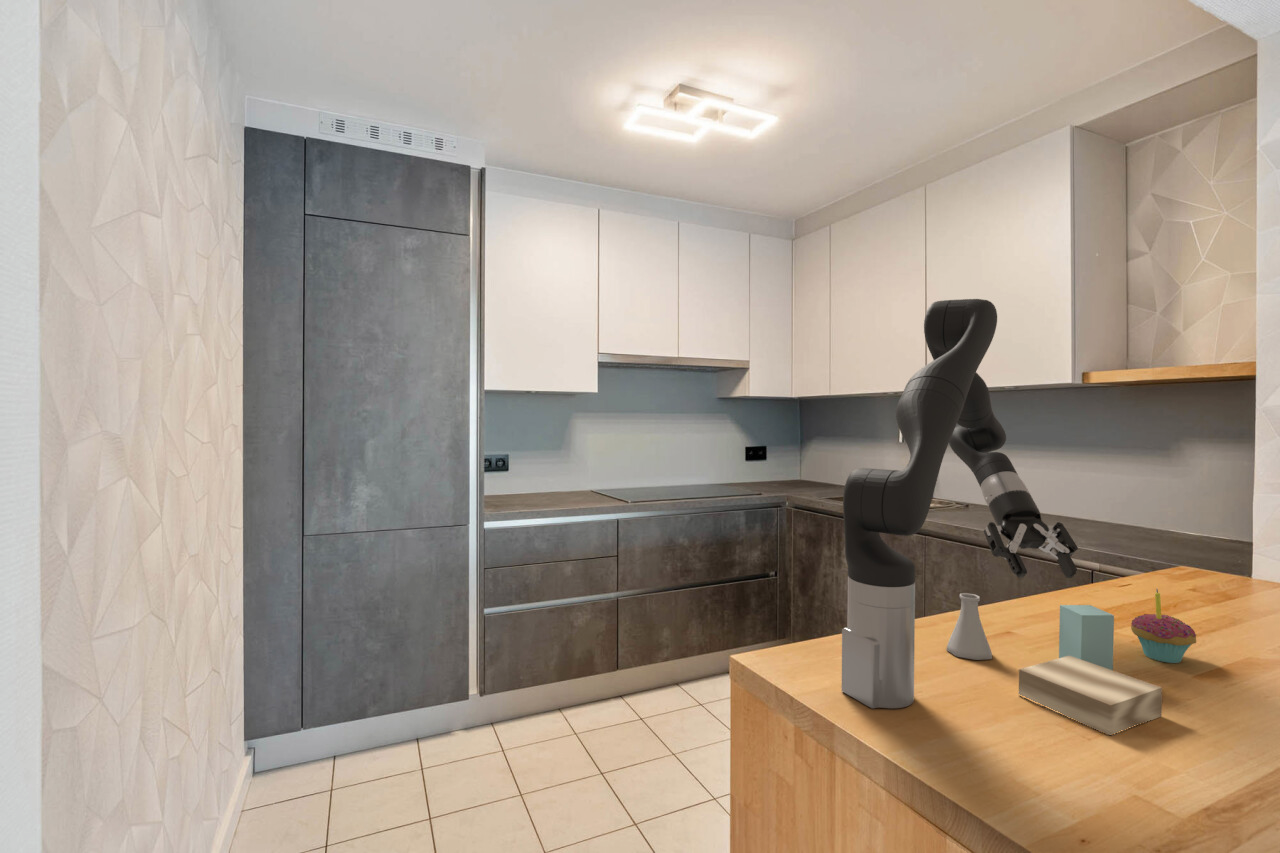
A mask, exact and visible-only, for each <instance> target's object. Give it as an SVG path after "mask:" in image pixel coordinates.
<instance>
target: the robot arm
mask: <svg viewBox="0 0 1280 853" xmlns="http://www.w3.org/2000/svg"><path fill="white" fill-rule="evenodd" d="M997 312H998V310H997V308H996V306H995V305H994V303H993V302H992V301H990V300H987V299H980V298H966V299H965V298H964V299H945V300H938V301H935V302H932V303H931V304H930V305H929V306H928V308H927V310H926V313H925V316H924V320H923V321H924V322H923V334H924V339H925V342H926V345H927V349H928V350H929V354H930V355H931V358H932V359H933V360H932V361H931V362H929V363H927V364H926V365H925V366H923V367H921V368H920V369H919V370H917V371H916V372H915V373H914V374H913V375H912V376H911V377H910V379H909V380H908V382H907V383H906V385H905V387H904V389H903V392H902V393H901V396H900V397H899V400H898V403H897V405H896V409H895V418H896V419H895V420H896V423H897V427H898V428H899V431H900V433H901V435H902V437H903V439H904V441H905V443H906V445H907V447H908V451H909V453H910V457H909V460H908V464H907V465H906V467H905V468H904V469H902V470H898V469H883V468H869V467H868V468H865V467H863V468H856V469H854V470H853V471H851V472H850V473H849V475H848V476H847V478H846V481H845V485H844V490H843V497H842V498H843V500H842V501H843V503H842V508H843V509H842V510H843V512H842V513H843V526H844V527H843V529H844V530H843V531H844V553H845V560H846V564H847V614H846V615H847V616H846V617H847V619H846V620H847V621H846V622H847V623H846V624H847V626H846V627H843V628H841V692H842V693H845V694H846V695H848V696H849V697H852V698H853V699H855V700H856V701H858V702H859V703H862V704H863V705H864V706H867V707H869V708H870V709H876V708H883V709H902V708H905V707H909V706H910V705H912V704H913V703H914V700H915V637H916V636H915V628H916V626H915V624H916V623H915V622H916V620H915V618H916V617H915V616H916V614H915V612H916V611H915V610H916V566H915V563H914V562H913V561H912V560H911V559H910V558H909V557H907V556H905V555H904V554H901V553H900V552H898V551H896V550H895V549H893V548H892V547H890V545H888V544H887V543H886V542H885V540H883V539H882V537H881V534H880V533H882V534H887V535H889V534H890V535H896V536H905V537H906V536H913V535H917V533H918V532H919V531H920V530H921V529H922V528H923V526H924V524H925V522H926V519H927V517H928V513H929V511H930V508H931V504H932V500H933V497H934V493H935V492H934V491H935V488H936V485H937V481H938V477H939V474H940V470H941V466H942V463H943V459H944V456H945V454H946V452H947V448H948V446H950V448H951V450H952V451H953V453H954V454H955V455H956V456H957V457H958V458H959V459H960V461H962V462H963V463H964V464H965V465H966V466H967V467H968V468H969V469H970V470H971V472H972V474H973V475H974V477H975V480H976V481H977V483H978V485H979V487H980V490H981V492H982V496H983V498H984V501H985V503H986V506H987V507H988V509H989V511H990V514H991V516H992V517H993V520H994V521H995V522H993V521H989V523H987V526H985V528H984V530H983V533H984V535H985V539H986V541H987V544H988V547H989V549H990V552H991V555H992V556H993V557H995V558H999V557H1002V558H1004V560H1006V561H1007V563H1008V565H1009V567H1010V570H1011V572H1012V573H1013V574H1014V575H1015V576H1016V577H1017V578H1018V579H1019V578H1020V579H1021V578H1024V577H1025V576H1026V575H1027V574H1028V570H1027V567H1026V566H1025V564H1024V562H1023V559H1022V558H1021V555H1020V554H1019V553H1017V552H1018V549H1019V548H1020V549H1021V550H1022V549H1023V550H1025V549H1029V548H1030V549H1034V550H1035V549H1039V550H1040V551H1042V552H1043V553H1046V554H1050V555H1051V556H1052V557H1054V558H1056V562H1057V564H1058V565H1059V567H1060V569H1061V571H1062V573H1063V574H1064V577H1065V578H1066V579H1070V578H1071V579H1072V578H1073V577H1074V576H1075V575H1076V574H1077V570H1078V569H1077V565H1076V563H1074V561H1073V559H1072V556H1073V554H1075V552H1076V551H1078V549H1079V547H1078V545H1077V544H1076V542H1075V541H1074V539H1073V538H1072V536H1071V535H1070V533H1069V532H1068V530H1067V528H1066V527H1065V525H1064V524H1063V523H1062V522H1058V521H1057V522H1056V523H1055V524H1054V525H1049V524H1046V523H1045V522H1044V521H1043V520H1042V516H1041V511H1040V509H1039V507H1038V506H1037V503H1036V502H1035V501H1034V498H1033V497H1032V495H1031V493H1030V492H1029V489H1028V488H1027V485H1025V483H1024V481H1023V480H1022V478H1020V476H1019V474H1018V473H1017V471H1016V469H1015V467H1014V465H1013V463H1012V462H1011V459H1010V458H1009V457H1008V456H1007V454H1004V453H1003V452H1001V451H1000V452H999V451H997V450H1000V449H1001V448H1002V447H1004V446H1005V444H1006V442H1007V434H1006V431H1005V429H1004V427H1003V426H1002V424H1001V423H1000V422H999V420H998V419H997V418H996V416H995V414H994V411H993V409H992V408H993V407H992V403H991V396H990V391H989V388H988V386H987V383H986V381H985V380H984V379H983V378H982V377H981V376H980V374H978V372H977V370H978V369H979V366H980V364H981V362H983V359H984V357H985V356H986V354H987V352H988V350H989V348H990V346H991V344H992V342H993V339H994V337H995V333H996V330H997V325H998V313H997ZM957 425H958V426H957ZM1001 535H1002V536H1003V537H1004V538H1005V539H1007V540H1008V542H1007V544H1006V546H1005V545H1004V542H1003V539H1002V537H1001ZM1046 540H1047V541H1048V544H1046Z"/></svg>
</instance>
